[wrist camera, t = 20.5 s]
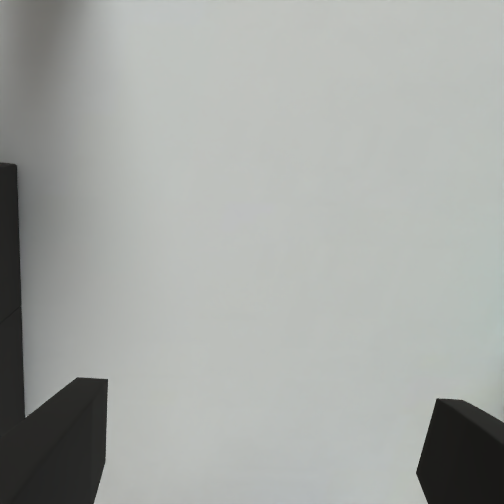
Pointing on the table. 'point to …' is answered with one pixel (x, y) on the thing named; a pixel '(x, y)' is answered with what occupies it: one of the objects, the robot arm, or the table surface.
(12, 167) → the black u-shaped block
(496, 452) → the robot arm
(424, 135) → the table surface
